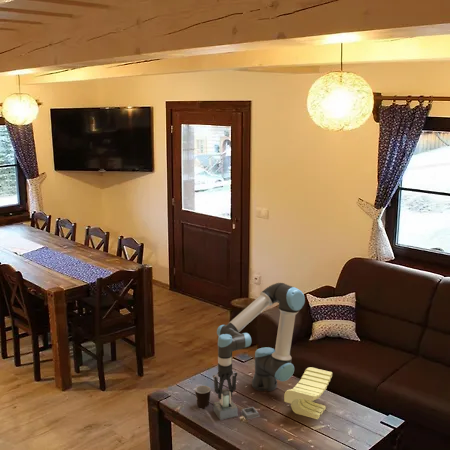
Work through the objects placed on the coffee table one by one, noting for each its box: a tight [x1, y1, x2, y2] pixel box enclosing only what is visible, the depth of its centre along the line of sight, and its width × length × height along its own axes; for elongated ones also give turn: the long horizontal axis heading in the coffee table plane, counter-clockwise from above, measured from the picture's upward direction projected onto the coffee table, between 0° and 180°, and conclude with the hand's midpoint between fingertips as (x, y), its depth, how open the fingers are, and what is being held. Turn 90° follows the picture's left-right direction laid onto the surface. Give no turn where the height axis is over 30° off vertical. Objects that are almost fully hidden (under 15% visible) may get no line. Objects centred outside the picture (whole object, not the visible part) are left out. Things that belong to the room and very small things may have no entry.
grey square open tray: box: [240, 406, 261, 420], centre depth 306 cm, size 8×8×3 cm
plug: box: [222, 388, 229, 408], centre depth 306 cm, size 4×4×12 cm
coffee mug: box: [194, 385, 211, 410], centre depth 317 cm, size 12×9×10 cm
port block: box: [212, 399, 239, 421], centre depth 307 cm, size 10×10×6 cm
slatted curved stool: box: [283, 366, 333, 420], centre depth 310 cm, size 30×16×18 cm, turn 150°
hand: (225, 403), depth 306 cm, fingers closed on plug, 4 cm apart
